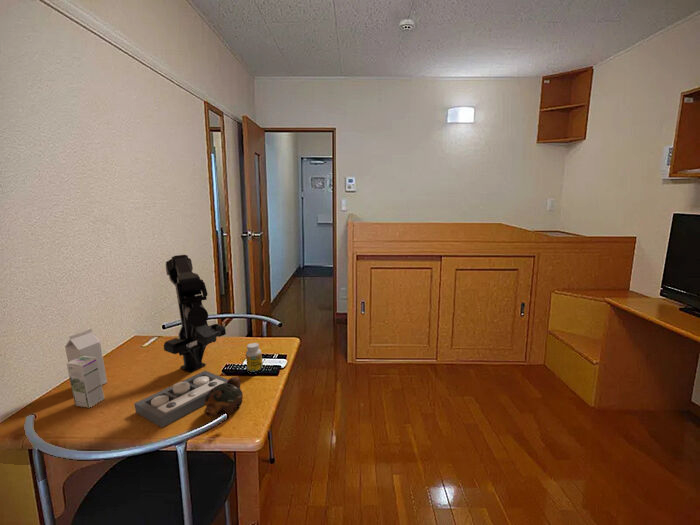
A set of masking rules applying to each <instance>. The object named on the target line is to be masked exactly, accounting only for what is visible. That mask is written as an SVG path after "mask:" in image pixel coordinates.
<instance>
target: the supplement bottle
mask: <svg viewBox="0 0 700 525" xmlns="http://www.w3.org/2000/svg"><path fill="white" fill-rule="evenodd" d="M246 350H247V351H246V352H245V359H246V369H247V372H248V371H250V372H255V371H258V370H260V369H261V368H262V367H263V368H264V365H263V354H262V350H261V349H260V346H259V343H258V342H254V343H253V342H251V343H248V344H247V346H246Z"/></svg>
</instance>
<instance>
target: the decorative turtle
mask: <svg viewBox="0 0 700 525" xmlns="http://www.w3.org/2000/svg"><path fill="white" fill-rule="evenodd" d="M243 397H244V396H243V391H242V390H241V380H240V378H239V376H231V377H230V378H229V379H228V381H227V383H223V384H220V385H217V386H216V387H214V388H213V389H211V390H210V391H209V393H208V394H207V395H206V397H205V400H204V402H205V405H204V406H205V409H204V411H203V412H204V414H205V415H206V416H207V417H208V418H209V417H210V418H212V417H214V416H216V414H218V413H219V412H221V410H223V411H224V412H226V413H227V414H229V415H230V414H232V413H233V412H234V410H235V409H236V407H237V408H240V407H241V406H242V404H243Z"/></svg>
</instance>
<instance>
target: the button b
mask: <svg viewBox="0 0 700 525" xmlns="http://www.w3.org/2000/svg"><path fill="white" fill-rule="evenodd" d="M172 386H173V394H174V395H183V394H185V393H187V392H189V391H190V385H189V382H181V381H180V382H176V383H174V384H173V385H172Z"/></svg>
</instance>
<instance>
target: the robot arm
mask: <svg viewBox="0 0 700 525" xmlns="http://www.w3.org/2000/svg"><path fill="white" fill-rule="evenodd" d="M165 271H166V276H168V277H169V281H170V282H171V283H172V284H173V285H174V286H175V293H176V299H177V303H178V309H179V310H178V311H179V317H180V323H181V328H180V329H179V332H178V338H177V337H174V338H171V339H169V340H167V341H165V342H164V343H163V350H164V352H166V353H170V354H173V355H177V354H178V356H181V357H182V360H183V365H181V366H180V367H179V368H180V369H182V370H184V371H187V372H189V373H192V372H193V371H194V372H195V371H196V370H198V369H200V368H201V369H202V368H203V367H205V366H206V365H207V364H206V363H205V362H202V361H203V357H204V354H205V351H206V348H207V347H208V345H209V344H212V343H215V342H217V337H218V338H220V337H224V336H225V335H227V330H226V327H225V326H224V325H221V324H220V323H213V324H210V325H209V324H208V319H209V313H208V311H207V309H206V308H205V306H204V305H203V302H202V301H207V300H208V299H207V297H208V290H207V288H206V286H207V285H206V283H205V282H204V279H202V278H201V277H200V276H199V274H198V273H195V272H193V264H192V259H191V258H190V257H189V256H188V254H179V255H178V254H176V255H172V256H171V258H169V260H167V261H166V262H165Z"/></svg>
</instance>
